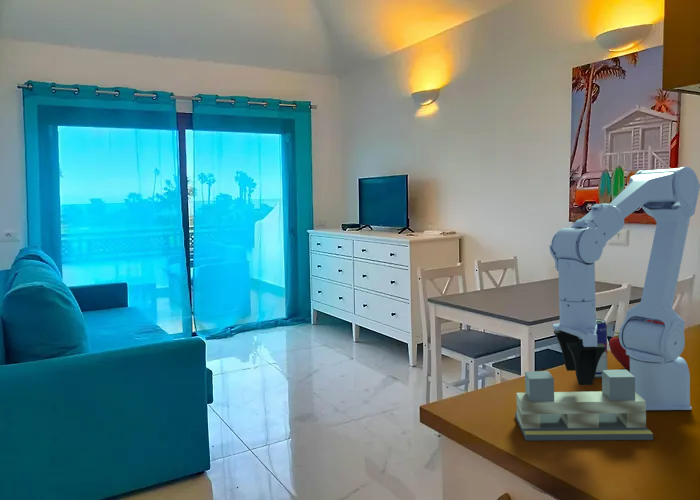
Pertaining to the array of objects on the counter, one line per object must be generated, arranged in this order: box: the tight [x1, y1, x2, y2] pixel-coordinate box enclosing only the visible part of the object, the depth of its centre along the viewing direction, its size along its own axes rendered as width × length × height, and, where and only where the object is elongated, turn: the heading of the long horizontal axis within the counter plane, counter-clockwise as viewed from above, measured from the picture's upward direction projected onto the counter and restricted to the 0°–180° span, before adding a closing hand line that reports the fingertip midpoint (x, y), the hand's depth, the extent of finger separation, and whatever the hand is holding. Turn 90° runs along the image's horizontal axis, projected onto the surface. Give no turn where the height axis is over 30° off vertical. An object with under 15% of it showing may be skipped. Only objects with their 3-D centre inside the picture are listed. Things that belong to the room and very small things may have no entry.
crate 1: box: [524, 370, 555, 402], centre depth 98 cm, size 4×4×4 cm
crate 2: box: [601, 369, 635, 401], centre depth 96 cm, size 4×4×4 cm
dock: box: [514, 411, 654, 441], centre depth 97 cm, size 20×10×1 cm, turn 83°
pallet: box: [515, 390, 647, 429], centre depth 97 cm, size 20×5×4 cm, turn 83°
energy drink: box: [594, 317, 608, 378], centre depth 124 cm, size 5×5×12 cm
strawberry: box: [608, 331, 630, 370], centre depth 126 cm, size 6×8×10 cm
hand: (578, 377), depth 97 cm, fingers open, 7 cm apart
